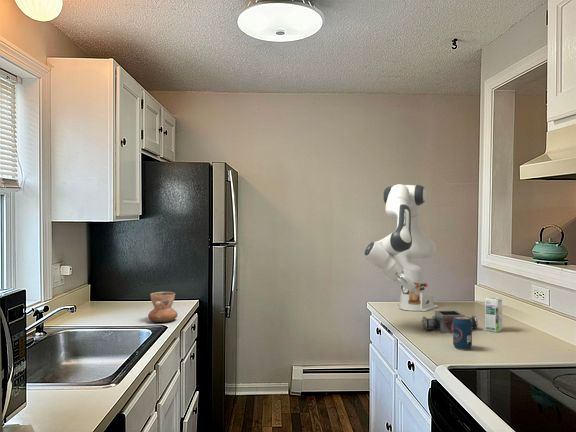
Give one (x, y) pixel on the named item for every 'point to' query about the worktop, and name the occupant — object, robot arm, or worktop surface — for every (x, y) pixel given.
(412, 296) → the copper flared cylinder
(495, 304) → the syrup box
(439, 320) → the valve body
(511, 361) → the worktop surface
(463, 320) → the soda can
